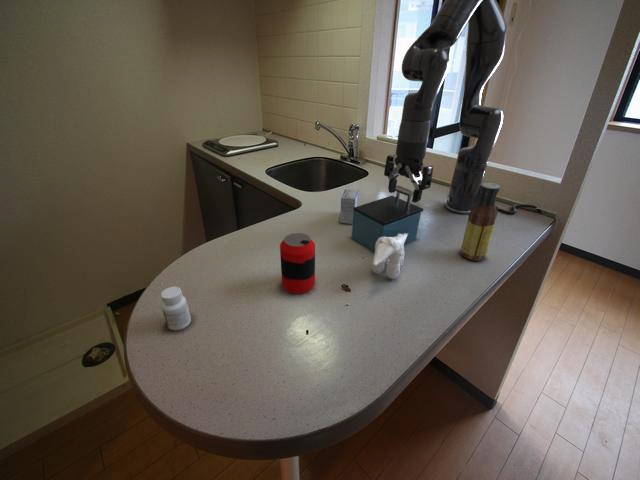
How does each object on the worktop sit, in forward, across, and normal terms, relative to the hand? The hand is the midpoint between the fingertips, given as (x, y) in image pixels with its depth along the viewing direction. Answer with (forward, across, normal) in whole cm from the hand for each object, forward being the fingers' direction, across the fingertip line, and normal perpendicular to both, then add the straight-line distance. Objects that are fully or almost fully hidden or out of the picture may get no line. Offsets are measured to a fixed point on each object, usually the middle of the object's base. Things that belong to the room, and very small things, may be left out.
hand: (403, 196), depth 89 cm
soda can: (+12, -4, +38) cm, 40 cm away
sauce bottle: (+12, -20, -7) cm, 24 cm away
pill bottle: (+12, 0, +63) cm, 65 cm away
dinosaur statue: (+12, -11, +15) cm, 23 cm away
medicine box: (+12, +16, +6) cm, 21 cm away
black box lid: (+3, 0, +6) cm, 6 cm away
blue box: (+12, 0, +6) cm, 13 cm away
